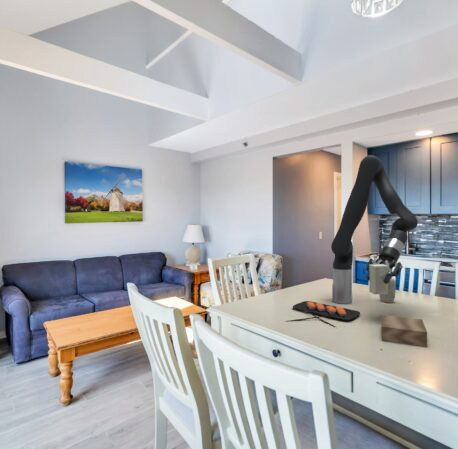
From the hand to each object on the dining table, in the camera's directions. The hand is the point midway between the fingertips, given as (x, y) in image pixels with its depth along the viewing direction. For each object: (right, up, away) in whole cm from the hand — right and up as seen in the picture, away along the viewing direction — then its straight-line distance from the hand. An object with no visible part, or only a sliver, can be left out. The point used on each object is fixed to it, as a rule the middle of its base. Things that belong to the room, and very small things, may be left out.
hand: (376, 281), depth 133 cm
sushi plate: (-23, -18, +8) cm, 30 cm away
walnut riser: (+2, -18, -16) cm, 24 cm away
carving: (+19, -16, +29) cm, 38 cm away
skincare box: (+1, -6, +1) cm, 6 cm away
